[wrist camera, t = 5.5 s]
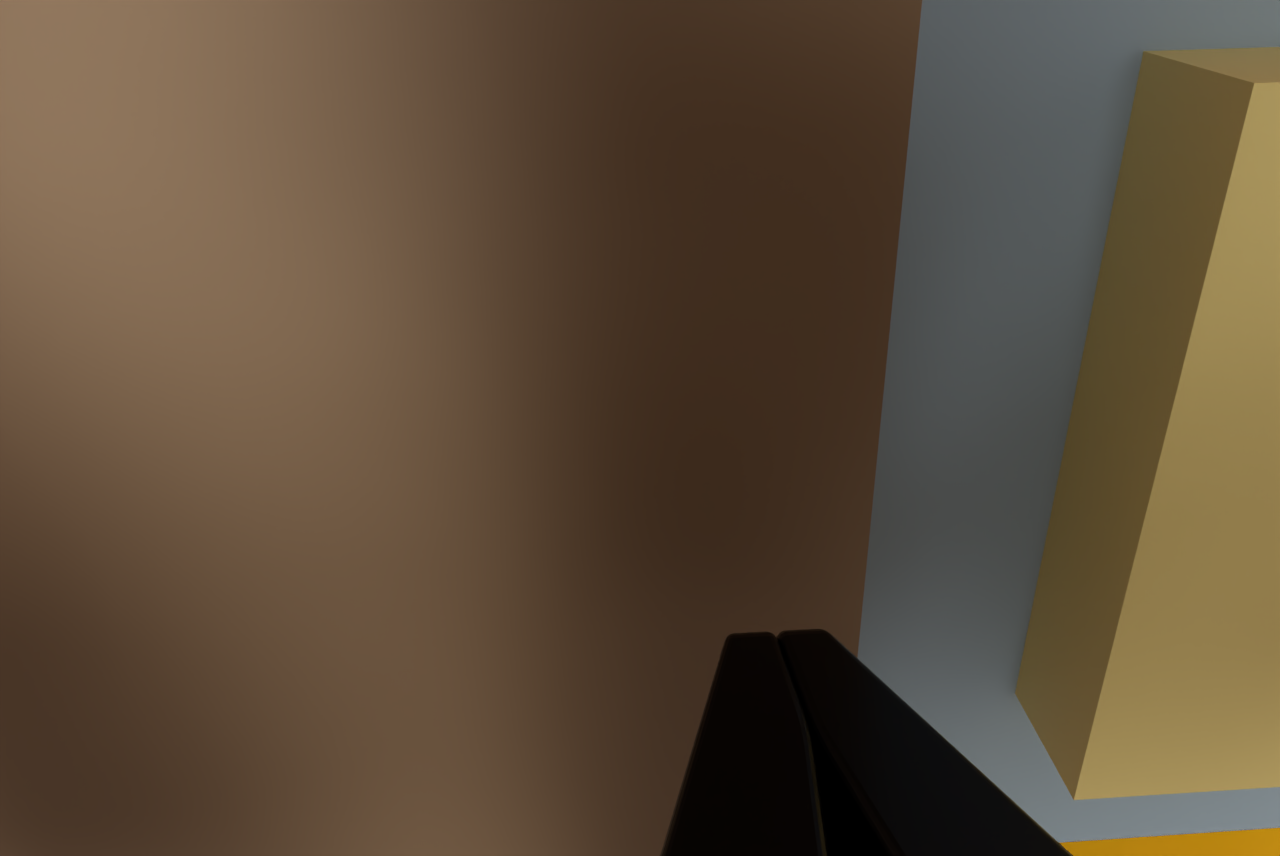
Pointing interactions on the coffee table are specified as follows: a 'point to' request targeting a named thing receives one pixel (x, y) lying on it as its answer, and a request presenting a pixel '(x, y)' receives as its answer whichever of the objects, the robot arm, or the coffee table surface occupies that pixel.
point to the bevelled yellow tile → (1173, 457)
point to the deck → (424, 405)
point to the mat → (1009, 367)
